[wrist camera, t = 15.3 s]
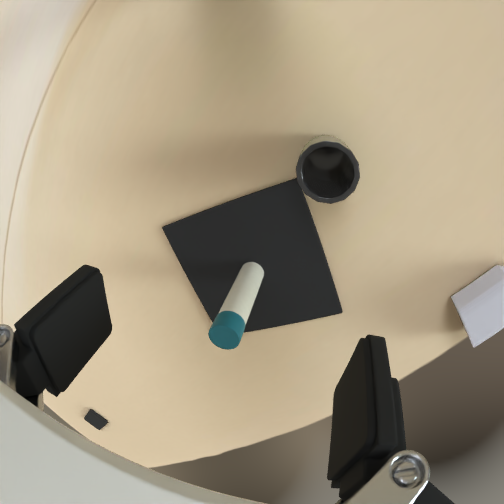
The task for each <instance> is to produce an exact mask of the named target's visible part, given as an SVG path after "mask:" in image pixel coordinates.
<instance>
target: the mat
mask: <svg viewBox="0 0 504 504" xmlns="http://www.w3.org/2000/svg"><path fill="white" fill-rule="evenodd" d="M162 229H163V231H164V233H165V235H166V237H167V239H168V241H169V243H170V245H171V247H172V248H173V250H174V252H175V254H176V256H177V258H178V260H179V262H180V264H181V266H182V268H183V270H184V271H185V273H186V275H187V277H188V279H189V281H190V283H191V284H192V286H193V288H194V290H195V292H196V294H197V295H198V297H199V299H200V301H201V303H202V304H203V306H204V308H205V310H206V312H207V313H208V315H209V317H210V319H211V320H212V322H214V320H215V318H216V316H217V315H218V313H219V311H220V309H221V307H222V305H223V303H224V301H225V299H226V297H227V295H228V294H229V292H230V290H231V288H232V286H233V284H234V282H235V280H236V278H237V276H238V274H239V272H240V270H241V268H242V266H243V265H244V264H245V263H248V262H255V263H257V264H259V265H260V266H261V267H262V268H263V270H264V276H263V279H262V282H261V285H260V287H259V290H258V293H257V296H256V298H255V301H254V304H253V306H252V309H251V312H250V315H249V317H248V320H247V323H246V325H245V329H244V332H250V331H255V330H261V329H266V328H272V327H277V326H282V325H288V324H293V323H298V322H302V321H307V320H312V319H317V318H321V317H326V316H330V315H335V314H339V313H342V308H341V305H340V302H339V298H338V295H337V292H336V288H335V285H334V282H333V279H332V276H331V272H330V269H329V266H328V263H327V260H326V257H325V254H324V251H323V248H322V245H321V242H320V239H319V236H318V233H317V230H316V227H315V224H314V222H313V219H312V216H311V213H310V210H309V208H308V205H307V202H306V199H305V197H304V194H303V191H302V188H301V187H300V185H299V184H298V181H297V178H295V179H292V180H289V181H286V182H283V183H280V184H277V185H274V186H272V187H269V188H266V189H263V190H260V191H257V192H254V193H251V194H249V195H246V196H243V197H240V198H237V199H235V200H232V201H229V202H226V203H224V204H221V205H218V206H215V207H213V208H210V209H207V210H205V211H202V212H200V213H197V214H194V215H192V216H189V217H186V218H184V219H181V220H179V221H176V222H174V223H171V224H169V225H166V226H164V227H162ZM244 332H243V333H244Z"/></svg>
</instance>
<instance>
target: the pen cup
mask: <svg viewBox="0 0 504 504" xmlns="http://www.w3.org/2000/svg"><path fill="white" fill-rule="evenodd" d="M296 174H297V181H298V184H299V185H300V187H301V188H302V190H303V191H304V193H305V194H306V195H307V196H309V197H311V198H312V199H314V200H315V201H318V202H323V203H330V204H331V203H335V202H339V201H342V200H344V199H346V198H347V197H348V196H349V195H350V194H351V193H353V192H354V191H355V189H356V186H357V184H358V181H359V179H360V173H359V164H358V161H357V160H356V158H355V156H354V155H353V153H352V151H351V150H350V149H349V148H348V146H347V145H346V144H345V143H344V142H343V141H341V140H340V139H338V138H337V137H335V136H330V135H321V136H317V137H315V138H313V139H311V140H310V141H309V142H308V143H307V144H306V145H305V147H304V148H303V150H302V153H301V155H300V157H299V160H298V163H297V166H296Z"/></svg>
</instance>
